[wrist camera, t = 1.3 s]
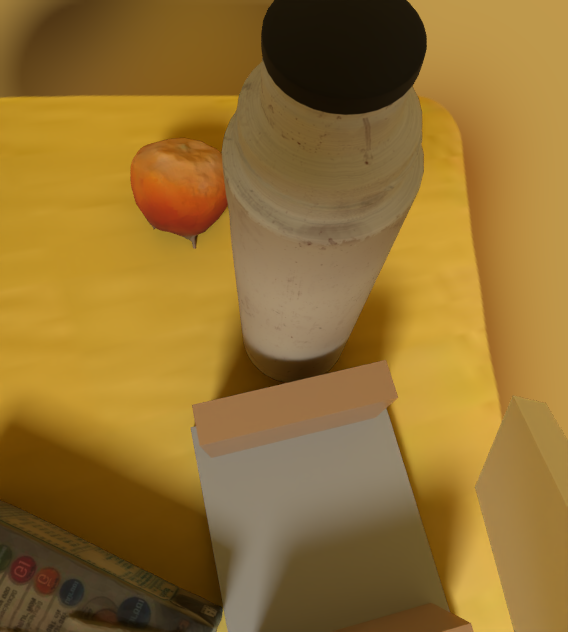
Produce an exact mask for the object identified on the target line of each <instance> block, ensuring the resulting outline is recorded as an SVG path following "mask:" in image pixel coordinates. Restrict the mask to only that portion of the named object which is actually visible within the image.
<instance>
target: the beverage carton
mask: <svg viewBox="0 0 568 632" xmlns="http://www.w3.org/2000/svg"><path fill="white" fill-rule="evenodd" d="M222 612H223V610H222V608H221V607H220V606H218V605H216V604H213V603H211V602H209V601H207V600H206V599H204V598H202V597H200V596H197V595H195V594H192V593H190V592H188V591H186V590H184V589H181V588H179V587H177V586H175V585H173V584H171V583H169V582H167V581H165V580H163V579H161V578H159V577H158V576H156V575H154V574H152V573H150V572H147V571H145V570H143V569H141V568H139V567H137V566H135V565H133V564H131V563H129V562H127V561H125V560H123V559H121V558H119V557H117V556H115V555H113V554H111V553H109V552H107V551H105V550H103V549H101V548H99V547H97V546H96V545H94V544H91V543H89V542H88V541H86V540H83V539H81V538H79V537H77V536H75V535H73V534H71V533H69V532H67V531H65V530H63V529H61V528H59V527H57V526H55V525H53V524H51V523H49V522H47V521H44V520H42V519H40V518H38V517H36V516H34V515H32V514H30V513H28V512H26V511H24V510H22V509H19V508H17V507H15V506H13V505H10V504H8V503H6V502H3V501H1V500H0V632H216V631H217V627H218V625H219V623H220V621H221V618H222Z"/></svg>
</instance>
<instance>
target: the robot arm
mask: <svg viewBox="0 0 568 632" xmlns="http://www.w3.org/2000/svg"><path fill="white" fill-rule="evenodd" d="M475 489H476V493H477V496H478V500H479V504H480V507H481V511H482V515H483V518H484V522H485V526H486V529H487V533H488V537H489V540H490V544H491V548H492V551H493V555H494V559H495V562H496V566H497V570H498V573H499V577H500V581H501V585H502V588H503V592H504V596H505V599H506V603H507V607H508V610H509V614H510V618H511V621H512V625H513V629H514V632H568V440H567V438H566V437H565V435H564V433H563V432H562V430H561V428H560V427H559V425H558V423H557V421H556V419H555V418H554V416H553V414H552V413H551V411H550V409H549V407H548V406H547V404H546V403H544V402H539V401H535V400H531V399H526V398H522V397H518V396H512V399H511V401H510V404H509V406H508V409H507V411H506V413H505V416H504V418H503V420H502V423H501V425H500V428H499V430H498V432H497V435H496V437H495V440H494V442H493V445H492V447H491V449H490V452H489V454H488V457H487V459H486V462H485V464H484V466H483V469H482V471H481V474H480V476H479V478H478V481H477V483H476V486H475Z"/></svg>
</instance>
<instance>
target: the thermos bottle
mask: <svg viewBox="0 0 568 632" xmlns="http://www.w3.org/2000/svg"><path fill="white" fill-rule="evenodd" d="M261 35H262V36H261V41H262V42H261V47H262V56H263V58H262V62H261V63H260V64H259V65H258V66H257V67H256V68H255V69H254V70H253V71H252V72H251V74H250V75H249V77H248V78H247V79H246V81H245V83H244V85H243V87H242V90H241V92H240V94H239V99H238V106H237V110H236V113H235V114H234V115H233V117H232V118H231V120H230V122H229V125H228V127H227V130H226V132H225V135H224V140H223V146H222V164H223V175H224V183H225V191H226V197H227V203H228V208H229V215H230V228H231V240H232V250H233V258H234V267H235V275H236V283H237V292H238V300H239V308H240V317H241V325H242V334H243V342H244V346H245V349H246V352H247V354H248V356H249V358H250V360H251V361H252V362H253V364H254V365H255V366H256V367H257V368H258V369H259V370H260V371H261V372H263V373H264V374H265V375H267V376H269V377H271V378H273V379H275V380H278V381H281V382H285V383H289V382H293V381H298V380H302V379H306V378H310V377H315V376H319V375H323V374H325V373H326V372H328V371H329V370H330V369H331V368H332V367H333V366H334V364H335V363H336V362H337V361H338V359H339V357H340V355H341V353H342V351H343V349H344V347H345V344H346V342H347V340H348V338H349V336H350V334H351V332H352V330H353V328H354V325H355V323H356V321H357V319H358V317H359V315H360V313H361V311H362V309H363V306H364V304H365V302H366V300H367V298H368V296H369V294H370V292H371V290H372V288H373V285H374V283H375V281H376V279H377V277H378V275H379V273H380V271H381V269H382V266H383V264H384V262H385V260H386V258H387V256H388V254H389V252H390V250H391V248H392V245H393V243H394V241H395V239H396V237H397V235H398V233H399V231H400V229H401V226H402V224H403V222H404V220H405V218H406V216H407V214H408V212H409V210H410V207H411V205H412V203H413V201H414V199H415V197H416V195H417V193H418V191H419V188H420V184H421V180H422V176H423V172H424V153H423V149H422V145H421V143H422V110H421V106H420V102H419V98H418V96H417V94H416V92H415V90H414V88H413V84H414V82H415V80H416V79H417V77H418V75H419V72H420V69H421V66H422V64H423V60H424V57H425V53H426V47H427V45H426V43H427V41H426V40H427V38H426V32H425V28H424V25H423V22H422V21H421V19H420V17H419V15H418V13H417V12H416V10H415V9H414V8H413V7H412V6H411V4H410V3H409V2H408V1H407V0H274V2H273V3H272V4H271V6H270V7H269V8H268V10H267V13H266V15H265V17H264V20H263V26H262V34H261Z"/></svg>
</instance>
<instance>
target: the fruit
mask: <svg viewBox="0 0 568 632" xmlns="http://www.w3.org/2000/svg"><path fill="white" fill-rule="evenodd" d="M131 186H132V190H133V194H134V198H135V201H136V204H137V206H138V207H139V209H140V210H141V211H142V213H143V214H144V216H145V217H146V219H147V220H148V222H149V223H150V224H151V225H152V226H153V228H154V229H155V228H157V229H159V230H162V231H167V232H171V233H174V234H177V235H180V236H183V237H185V238H187V239H189V240H190V241H192V244H193V248H195V249H196V243H195V237H196V235H197V234H200V233H203V232H205V231H206V230H207V229H208V228H209V227H210V226H211V225H212V224H213V223H214V222H215V221H216V220H218V219H219V217H220V216H221V214H222V213H223V212H224V210H225V209H226V207H227V205H228V203H227V197H226V191H225V183H224V175H223V164H222V154H221V153H220V152H219V151H218V150H217V149H215V148H213V147H211V146H208V145H207V144H205V143H204V142H201V141H198V140H192V139H188V138H174V139H167V140H163V141H159V142H156V143H152V144H148V145H146V146H144V147H142V148H141V149H140V150H139V151H138V152H137V154H136V156H135V157H134V158H133V160H132V164H131Z"/></svg>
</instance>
